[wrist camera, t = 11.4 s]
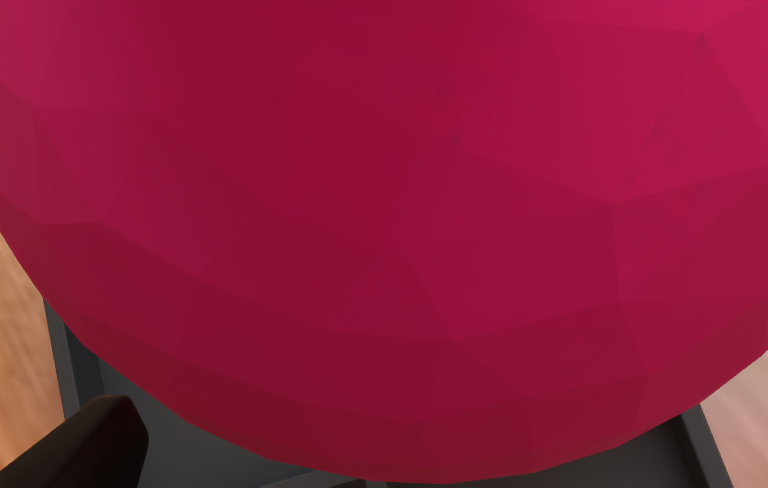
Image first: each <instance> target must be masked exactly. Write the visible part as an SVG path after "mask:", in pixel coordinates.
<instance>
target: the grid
mask: <svg viewBox="0 0 768 488" xmlns="http://www.w3.org/2000/svg"><path fill="white" fill-rule="evenodd" d="M43 302H44V307H45V313H46V318H47V323H48V329H49V334H50V340H51V345H52V351H53V356H54V362H55V367H56V373H57V378H58V384H59V389H60V395H61V400H62V406H63V411H64V417H65V421H66V420H67V419H68V418H70V417H71V416H72V415H73V414H75V413H76V412H77V411H79V410H80V409H81V408H83V407H84V406H85V405H86V404H88V403H89V402H90V401H92V400H93V399H94V398H96V397H98V396H100V395H127V396H128V397H129V398H131V400H132V401H133V403H134V405H135V407H136V409H137V411H138V413H139V415H140V417H141V419H142V420H143V422H144V424H145V426H146V428H147V431H148V435H149V446H148V451H147V454H146V458H145V461H144V465H143V468H142V472H141V476H140V479H139V483H138V486H137V488H734V487H733V485H732V482H731V480H730V477H729V475H728V473H727V470H726V468H725V465H724V463H723V460H722V458H721V455H720V453H719V450H718V448H717V445H716V443H715V440H714V438H713V435H712V433H711V430H710V428H709V425H708V423H707V420H706V418H705V415H704V413H703V410H702V408H701V406H700V403H699V404H698V405H696V406H694V407H692V408H690V409H688V410H686V411H685V412H683V413H681V414H679V415H677V416H675V417H673V418H671V419H669V420H667V421H666V422H664V423H662V424H660V425H658V426H656V427H654V428H652V429H650V430H648V431H647V432H645V433H643V434H641V435H639V436H637V437H635V438H633V439H631V440H629V441H628V442H626V443H624V444H622V445H620V446H618V447H615V448H612V449H609V450H606V451H602V452H599V453H596V454H593V455H590V456H586V457H583V458H580V459H577V460H574V461H570V462H567V463H564V464H561V465H558V466H554V467H551V468H548V469H545V470H541V471H538V472H535V473H529V474H521V475H513V476H506V477H498V478H490V479H482V480H474V481H466V482H458V483H451V484H432V483H406V482H380V481H369V480H364V479H359V478H354V477H349V476H345V475H340V474H335V473H330V472H326V471H321V470H316V469H312V468H307V467H302V466H297V465H293V464H288V463H283V462H278V461H274V460H269V459H266V458H264V457H261V456H259V455H257V454H255V453H253V452H250V451H248V450H246V449H244V448H242V447H240V446H237V445H235V444H233V443H231V442H229V441H226V440H224V439H222V438H220V437H218V436H216V435H213V434H211V433H209V432H207V431H205V430H202V429H200V428H198V427H196V426H194V425H192V424H189V423H187V422H186V421H185V420H183V419H182V418H181V417H179V416H178V415H177V414H175V413H174V412H172V411H171V410H170V409H168V408H167V407H166V406H164V405H163V404H162V403H160V402H159V401H157V400H156V399H155V398H153V397H152V396H151V395H149V394H148V393H147V392H145V391H144V390H142V389H141V388H140V387H138V386H137V385H136V384H134V383H133V382H132V381H130V380H129V379H128V378H126V377H125V376H123V375H122V374H121V373H119V372H118V371H117V370H115V369H114V368H113V367H111V366H110V365H109V364H108V363H106V362H105V361H104V360H102V359H101V358H100V357H98V356H97V355H96V354H94V353H93V352H92V351H90V350H89V349H88V348H86V347H85V346H84V345H83V344H82V343H81V342H80V341H79V339H78V338H77V337H76V336H75V335H74V333H73V332H72V331H71V330H70V329H69V328H68V326H67V325H66V324H65V323H64V322H63V321H62V319H61V318H60V317H59V316H58V315H57V313H56V312H55V311H54V310H53V309H52V308H51V306H50V305H49V304H48V303H47V302H46V301H45V299H44V298H43Z"/></svg>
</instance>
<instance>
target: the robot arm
mask: <svg viewBox="0 0 768 488" xmlns="http://www.w3.org/2000/svg"><path fill="white" fill-rule="evenodd" d="M148 446H149V435H148V431H147V428H146V426H145V424H144V422H143V420H142V419H141V417H140V415H139V413H138V411H137V409H136V407H135V405H134V403H133V401H132V400H131V398H129V397H128V396H127V395H100V396H98V397H96V398H94V399H93V400H92V401H90V402H89V403H88V404H86V405H85V406H84V407H83V408H81V409H80V410H79V411H77V412H76V413H75V414H73V415H72V416H71V417H70V418H68V419H67V420H66V421H64V422H63V423H62V424H61V425H59V426H58V427H57V428H55V429H54V430H53V431H51V432H50V433H49V434H48V435H46V436H45V437H44V438H42V439H41V440H40V441H38V442H37V443H36V444H35V445H33V446H32V447H31V448H29V449H28V450H27V451H26V452H24V453H23V454H22V455H20V456H19V457H18V458H16V459H15V460H14V461H13V462H11V463H10V464H9V465H7V466H6V467H5V468H3V469H2V470H1V471H0V488H137V486H138V483H139V479H140V476H141V472H142V468H143V465H144V461H145V458H146V454H147V451H148Z"/></svg>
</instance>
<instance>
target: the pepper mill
mask: <svg viewBox="0 0 768 488" xmlns="http://www.w3.org/2000/svg"><path fill="white" fill-rule="evenodd" d="M0 232H1V234H2V236H3V237H4V239H5V241H6V242H7V244H8V245H9V247H10V249H11V250H12V252H13V254H14V255H15V257H16V258H17V260H18V262H19V263H20V264H21V266H22V267H23V269H24V270H25V272H26V273H27V275H28V276H29V278H30V279H31V281H32V282H33V283H34V285H35V286H36V288H37V289H38V291H39V292H40V294H41V295H42V297H43V298H44V299H45V301H46V302H47V303H48V304H49V305H50V306H51V308H52V309H53V310H54V311H55V312H56V313H57V315H58V316H59V317H60V318H61V319H62V321H63V322H64V323H65V324H66V325H67V326H68V328H69V329H70V330H71V331H72V332H73V333H74V335H75V336H76V337H77V338H78V339H79V341H80V342H81V343H82V344H83V345H84V346H85V347H86V348H88V349H89V350H90V351H92V352H93V353H94V354H96V355H97V356H98V357H100V358H101V359H102V360H104V361H105V362H106V363H108V364H109V365H110V366H111V367H113V368H114V369H115V370H117V371H118V372H119V373H121V374H122V375H123V376H125V377H126V378H128V379H129V380H130V381H132V382H133V383H134V384H136V385H137V386H138V387H140V388H141V389H142V390H144V391H145V392H147V393H148V394H149V395H151V396H152V397H153V398H155V399H156V400H157V401H159V402H160V403H162V404H163V405H164V406H166V407H167V408H168V409H170V410H171V411H172V412H174V413H175V414H177V415H178V416H179V417H181V418H182V419H183V420H185V421H186V422H187V423H189V424H192V425H194V426H196V427H198V428H200V429H202V430H205V431H207V432H209V433H211V434H213V435H216V436H218V437H220V438H222V439H224V440H226V441H229V442H231V443H233V444H235V445H237V446H240V447H242V448H244V449H246V450H248V451H250V452H253V453H255V454H257V455H259V456H261V457H264V458H266V459H269V460H274V461H278V462H283V463H288V464H293V465H297V466H302V467H307V468H312V469H316V470H321V471H326V472H330V473H335V474H340V475H345V476H349V477H354V478H359V479H364V480H369V481H380V482H406V483H432V484H451V483H458V482H466V481H474V480H482V479H490V478H498V477H506V476H513V475H521V474H529V473H535V472H538V471H541V470H545V469H548V468H551V467H554V466H558V465H561V464H564V463H567V462H570V461H574V460H577V459H580V458H583V457H586V456H590V455H593V454H596V453H599V452H602V451H606V450H609V449H612V448H615V447H618V446H620V445H622V444H624V443H626V442H628V441H629V440H631V439H633V438H635V437H637V436H639V435H641V434H643V433H645V432H647V431H648V430H650V429H652V428H654V427H656V426H658V425H660V424H662V423H664V422H666V421H667V420H669V419H671V418H673V417H675V416H677V415H679V414H681V413H683V412H685V411H686V410H688V409H690V408H692V407H694V406H696V405H698V404H699V403H701V402H702V401H703V400H704V399H706V398H707V397H708V396H710V395H711V394H712V393H714V392H715V391H716V390H717V389H719V388H720V387H721V386H723V385H724V384H725V383H727V382H728V381H729V380H731V379H732V378H733V377H734V376H736V375H737V374H738V373H740V372H741V371H742V370H744V369H745V368H746V367H747V366H749V365H750V364H751V363H753V362H754V361H755V360H757V359H758V358H759V357H761V356H762V355H763V354H764V353H765V352H766V351H767V350H768V0H0Z"/></svg>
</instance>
